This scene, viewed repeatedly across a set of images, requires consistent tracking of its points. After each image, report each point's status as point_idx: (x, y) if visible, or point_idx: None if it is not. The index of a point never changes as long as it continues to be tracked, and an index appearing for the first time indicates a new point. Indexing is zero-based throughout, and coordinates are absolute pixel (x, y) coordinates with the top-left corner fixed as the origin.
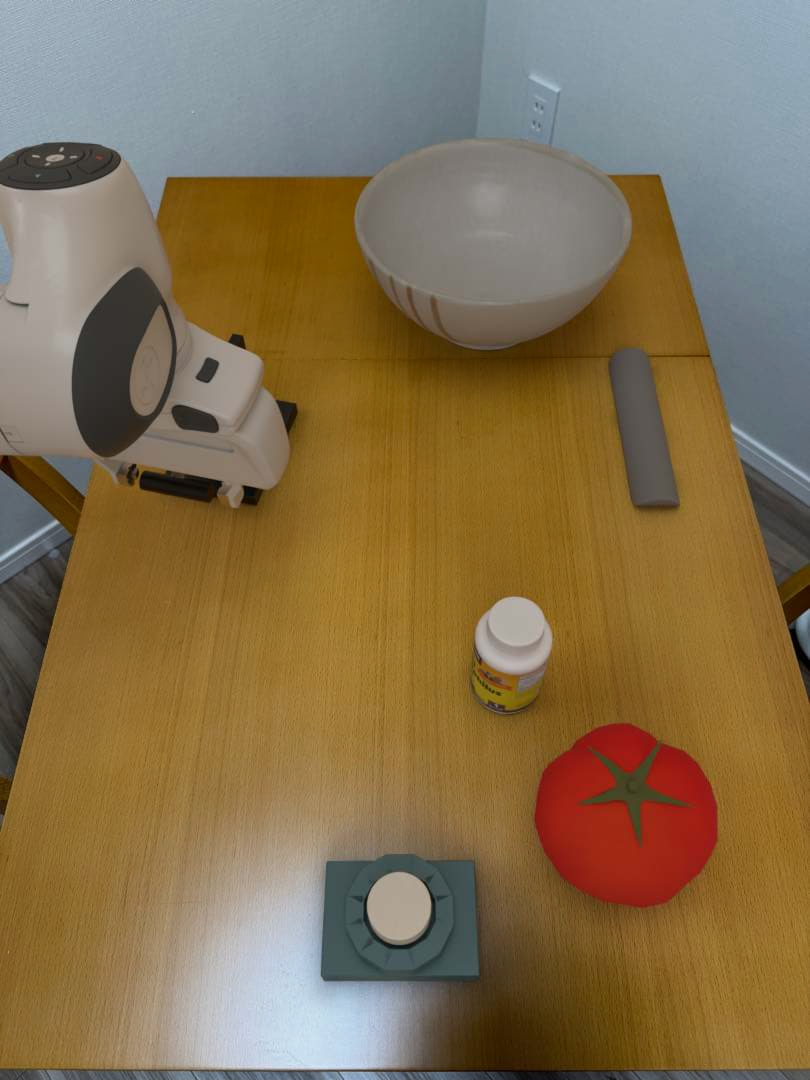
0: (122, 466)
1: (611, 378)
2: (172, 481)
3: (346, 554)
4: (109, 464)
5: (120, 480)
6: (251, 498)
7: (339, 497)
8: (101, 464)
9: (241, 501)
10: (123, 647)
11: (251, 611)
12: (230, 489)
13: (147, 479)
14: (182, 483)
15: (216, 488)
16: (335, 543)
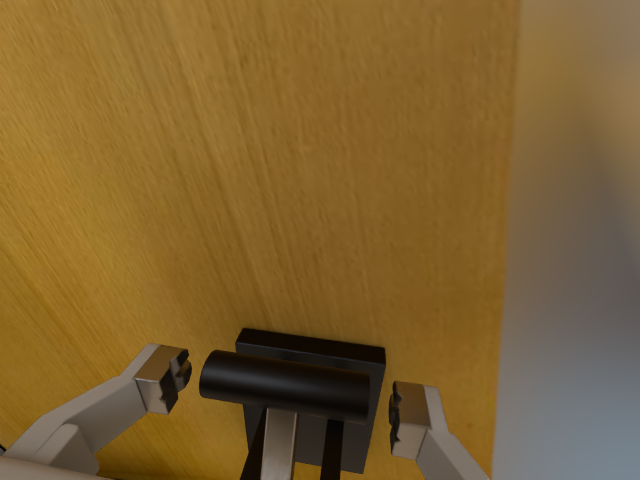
0: (417, 443)
1: (3, 452)
2: (283, 404)
3: (93, 268)
4: (447, 466)
5: (420, 402)
6: (240, 340)
7: (150, 342)
8: (471, 474)
9: (262, 333)
10: (355, 15)
11: (159, 155)
12: (88, 406)
13: (347, 408)
14: (259, 399)
15: (294, 353)
16: (116, 282)
